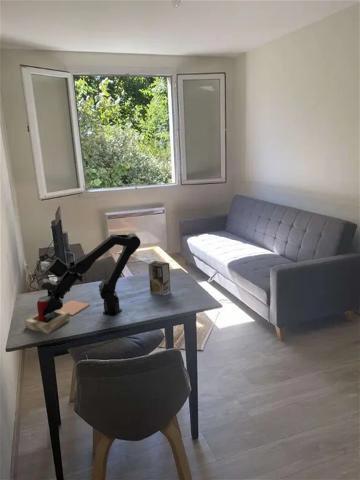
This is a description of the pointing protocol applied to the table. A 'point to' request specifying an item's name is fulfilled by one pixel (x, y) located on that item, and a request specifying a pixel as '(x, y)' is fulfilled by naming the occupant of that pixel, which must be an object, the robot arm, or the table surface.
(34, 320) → the holder
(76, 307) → the mat
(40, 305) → the beverage can
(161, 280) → the coffee box
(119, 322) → the table surface
